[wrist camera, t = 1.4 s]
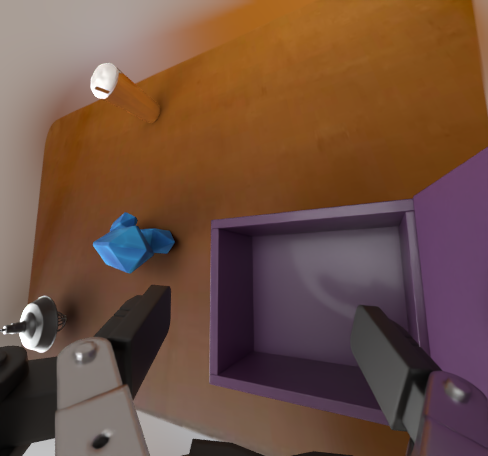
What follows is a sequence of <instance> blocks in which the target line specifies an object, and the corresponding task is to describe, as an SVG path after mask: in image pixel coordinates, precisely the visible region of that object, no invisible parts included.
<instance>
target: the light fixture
mask: <svg viewBox="0 0 488 456" xmlns="http://www.w3.org/2000/svg"><path fill="white" fill-rule="evenodd" d="M58 313H60V312H57V308H56V305H55V303H54V301H53V300H52V299H51V298H50V297H48V296H42V297H40V298H38V299H37V300H36V301H34V302H32V303H30V304H29V305H27V307H26V308H25V309H24V311H23V313H22V316H21V320H20V322H18V323H13V324H11V325H7V326H4V327H3V329H1V330H0V331H1V332H3V333H4V334H9V333H11V334H15V333H20V338H21V341H22V343H23V345H24V346H25V347H26V348H28V349H31V350H35V351H37V352H40V353H43V352H45V351H47V350H48V349H49V348H50V347H51V346H52V344H53V343H54V340H55V338H56V334H57V332H58V331H60V330H61V329H62V328H63V327H64V326H65V321H66V320H67V318H66V315H63V314H62V313H60V314H61V315H59V314H58ZM58 316H60V317H61V318H58ZM62 316H63V318H62ZM64 316H65V317H64ZM58 319H62V320H61V321H63V320H64V321H63V323H61V324H63V325H64V326H62V328H61V329H59V330H58V326H59V325H61V324H59V325H58V322H60V321H58ZM65 319H66V320H65Z"/></svg>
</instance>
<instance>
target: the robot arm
mask: <svg viewBox="0 0 488 456" xmlns="http://www.w3.org/2000/svg"><path fill="white" fill-rule="evenodd" d="M170 316H171V289H170V287H169V286H160V285H151V286H150V287H149V288H148V290H147V291H146V292H145V293H144V294H143V296H141V295H137V296H135V297H133V298H131V299H129V300H127V301H126V302H125V303H124V304H123V305H122V306H121V308H120V309H119V310H118V311H117V312H116V313H115V314H114V316H112V317H111V318H110V319H109V320H108V322H107V323H106V324H105V325H104V326H103V327H102V328H101V329H100V330H99V331H98V332H97V333H96V334H95V336H94V337H90V338H84V339H81V340H78V341H76V342H73V343H72V344H70V345H68V346H67V347H65V348H64V349H63V350H62V351H61V352H60V353H59V355H58V357H51V358H44V359H36V360H28V358H27V352H26V350H25V349H24V348H22V347H19V346H5V347H0V456H22V455H23V454H24V453H25V451H26V450H27V449H28V447H29V446H30V445H31V443H34V442H39V441H44V440H48V439H53V438H55V456H150V454H149V451H148V448H147V445H146V442H145V438H144V435H143V432H142V429H141V425H140V422H139V419H138V416H137V413H136V409H135V406H134V403H133V400H134V398H135V396H136V394H137V392H138V390H139V388H140V386H141V384H142V382H143V380H144V378H145V376H146V374H147V372H148V370H149V368H150V366H151V364H152V363H153V361H154V359H155V357H156V355H157V353H158V351H159V349H160V347H161V345H162V343H163V341H164V339H165V337H166V335H167V333H168V330H169V326H170ZM350 346H351V350H352V353H353V355H354V357H355V359H356V361H357V363H358V365H359V367H360V369H361V371H362V373H363V375H364V377H365V379H366V380H367V382H368V384H369V386H370V388H371V390H372V392H373V394H374V396H375V398H376V400H377V402H378V404H379V406H380V408H381V410H382V412H383V414H384V416H385V417H386V419H387V421H388V423H389V425H390V427H391V429H392V430H398V431H408V433H409V435H410V439H409V443H408V446H407V451H406V456H488V399H487V397H486V396H485V394H484V393H483V392H482V391H481V390H480V389H478V388H477V387H476V386H475V385H473V384H472V383H470V382H469V381H467V380H465V379H464V378H462V377H460V376H457V375H455V374H452V373H449V372H445V371H442V369H441V368H440V367H439V366H438V365H437V364H436V363H435V362H434V361H433V360H432V358H431V357H430V356H429V355H428V354H427V353H426V352H425V351H424V350H423V348H422V347H419V344H418V343H417V342H416V341H415V340H414V339H412V336H411V335H410V334H409V333H408V332H407V331H406V330H405V328H403V327H402V326H400V325H399V324H397V323H396V322H394V321H393V320H390V319H389V318H388V317H387V316H386V314H385V313H384V312H383V311H382V310H381V309H380V308H379V307H378V306H368V305H358V307H357V309H356V313H355V317H354V322H353V327H352V332H351V337H350ZM183 456H264V455H261V454H259V453H256V452H254V451H251V450H249V449H246V448H244V447H241V446H239V445H236V444H234V443H229V442H219V441H210V440H200V439H193V440H192V444H191V449H190V453H189V454H187V455H183ZM293 456H352V455H343V454H333V453H324V452H314V451H313V452H308V453H303V454H298V455H293Z"/></svg>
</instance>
